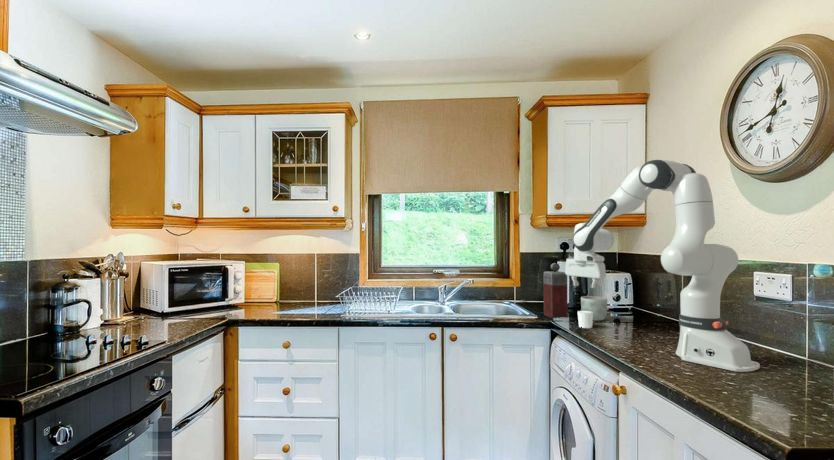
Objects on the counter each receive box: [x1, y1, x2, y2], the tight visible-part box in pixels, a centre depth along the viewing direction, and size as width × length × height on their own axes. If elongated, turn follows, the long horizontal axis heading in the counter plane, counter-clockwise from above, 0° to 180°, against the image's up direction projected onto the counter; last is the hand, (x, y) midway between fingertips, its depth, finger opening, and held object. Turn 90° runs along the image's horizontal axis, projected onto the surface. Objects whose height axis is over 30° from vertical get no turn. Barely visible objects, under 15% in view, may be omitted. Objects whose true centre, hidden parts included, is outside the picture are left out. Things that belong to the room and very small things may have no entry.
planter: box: [580, 295, 608, 322], centre depth 198 cm, size 12×12×11 cm
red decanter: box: [543, 262, 568, 319], centre depth 208 cm, size 9×11×28 cm
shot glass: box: [577, 310, 594, 329], centre depth 181 cm, size 7×7×7 cm
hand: (584, 286), depth 182 cm, fingers open, 8 cm apart
